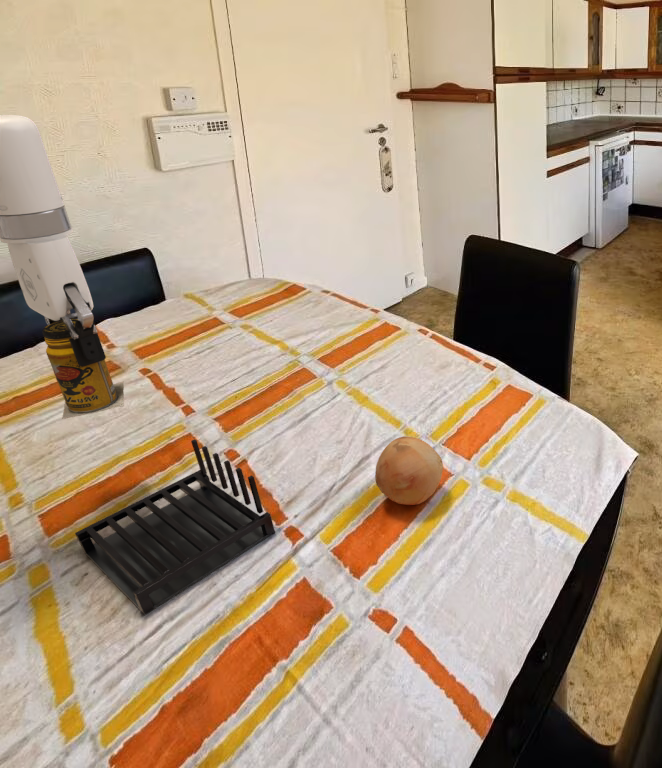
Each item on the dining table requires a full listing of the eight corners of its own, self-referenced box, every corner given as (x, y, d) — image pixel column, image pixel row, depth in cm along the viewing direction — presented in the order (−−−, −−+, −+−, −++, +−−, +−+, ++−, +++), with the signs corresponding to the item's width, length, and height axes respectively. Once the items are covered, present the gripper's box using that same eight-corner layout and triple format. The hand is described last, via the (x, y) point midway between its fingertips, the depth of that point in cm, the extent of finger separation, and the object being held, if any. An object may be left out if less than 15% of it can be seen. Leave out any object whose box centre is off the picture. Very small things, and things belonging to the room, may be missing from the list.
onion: (456, 503, 92) (451, 447, 87) (392, 527, 88) (383, 469, 83) (430, 470, 99) (425, 417, 95) (370, 490, 95) (361, 436, 90)
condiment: (62, 420, 84) (30, 338, 78) (67, 394, 90) (37, 317, 85) (124, 407, 87) (97, 327, 81) (124, 383, 94) (99, 308, 88)
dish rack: (144, 615, 75) (119, 557, 71) (83, 551, 85) (57, 497, 80) (275, 532, 87) (261, 478, 83) (208, 485, 97) (192, 435, 93)
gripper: (-27, 220, 79) (26, 350, 87) (24, 241, 69) (78, 384, 78) (41, 210, 84) (85, 333, 92) (96, 228, 75) (140, 362, 83)
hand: (81, 355), depth 85 cm, fingers closed on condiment, 6 cm apart
